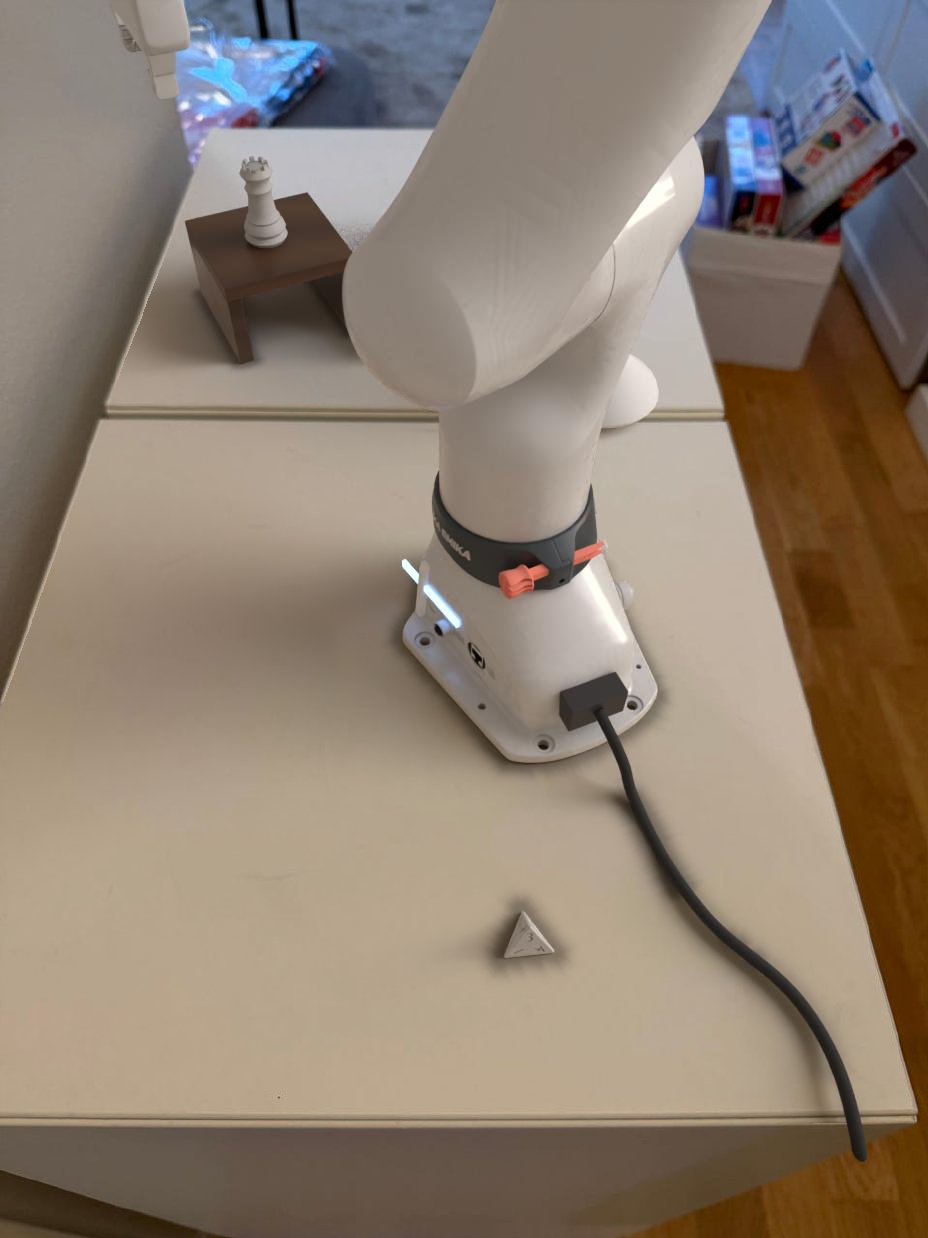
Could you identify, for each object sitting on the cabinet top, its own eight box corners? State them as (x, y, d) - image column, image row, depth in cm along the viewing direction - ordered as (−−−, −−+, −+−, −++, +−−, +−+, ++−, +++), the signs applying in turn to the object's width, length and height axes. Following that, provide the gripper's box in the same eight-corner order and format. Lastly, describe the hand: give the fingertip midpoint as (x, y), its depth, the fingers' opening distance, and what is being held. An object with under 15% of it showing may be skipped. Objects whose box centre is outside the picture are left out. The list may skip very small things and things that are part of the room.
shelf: (362, 329, 102) (355, 255, 95) (240, 364, 98) (224, 289, 91) (316, 264, 110) (307, 191, 103) (202, 294, 106) (184, 220, 99)
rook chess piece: (287, 225, 98) (276, 149, 92) (289, 248, 96) (278, 172, 89) (244, 228, 98) (230, 152, 91) (246, 251, 95) (231, 175, 89)
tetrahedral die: (538, 978, 62) (556, 972, 59) (502, 957, 61) (519, 950, 59) (556, 931, 64) (575, 923, 61) (521, 910, 63) (538, 902, 61)
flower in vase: (661, 440, 92) (721, 198, 72) (547, 437, 92) (575, 195, 72) (648, 358, 100) (698, 120, 80) (543, 355, 100) (567, 116, 80)
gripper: (187, -105, 59) (227, 117, 71) (109, -186, 70) (155, 18, 81) (88, -91, 58) (146, 134, 69) (25, -177, 69) (83, 30, 80)
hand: (150, 70), depth 75 cm, fingers open, 8 cm apart
